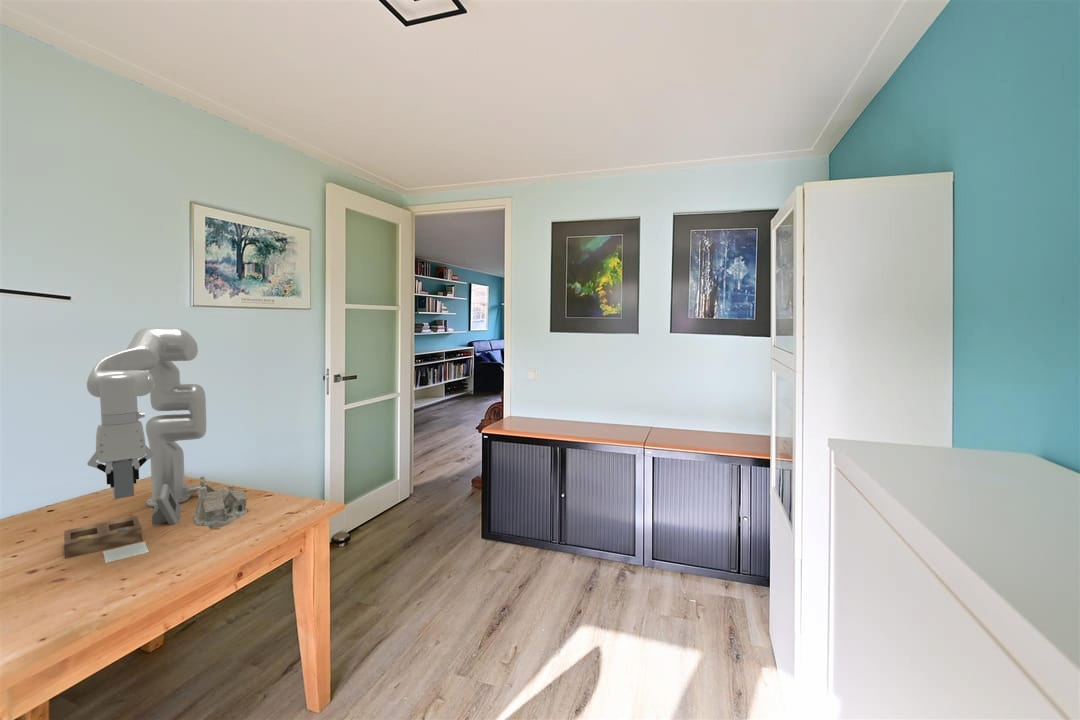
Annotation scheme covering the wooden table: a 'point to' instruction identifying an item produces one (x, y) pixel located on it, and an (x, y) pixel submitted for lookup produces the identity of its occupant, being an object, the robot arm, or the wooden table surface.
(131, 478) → the plug
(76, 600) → the wooden table surface
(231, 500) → the ceramic cottage
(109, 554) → the tray
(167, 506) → the digital clock
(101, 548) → the socket block
